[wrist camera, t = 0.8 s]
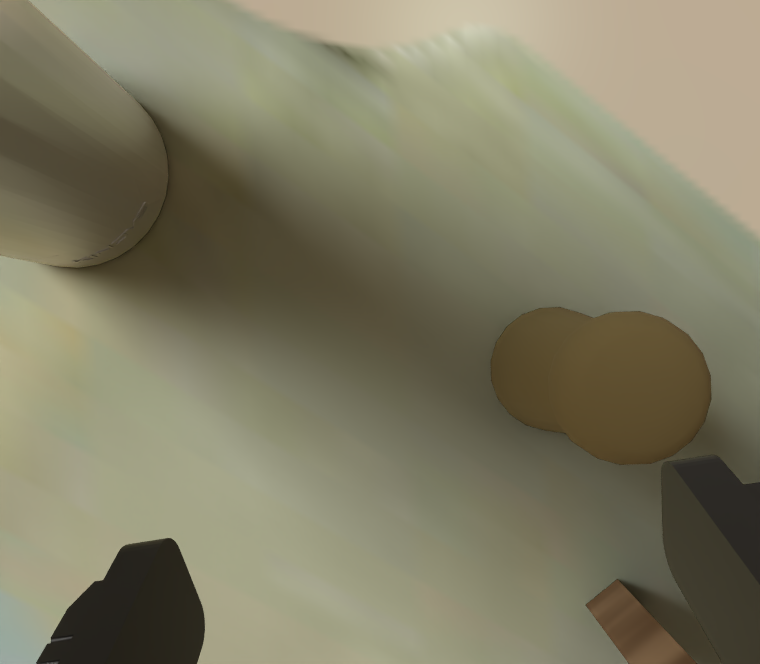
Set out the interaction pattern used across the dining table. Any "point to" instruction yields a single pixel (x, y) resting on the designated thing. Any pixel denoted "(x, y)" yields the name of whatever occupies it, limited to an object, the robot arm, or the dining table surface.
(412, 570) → the dining table surface
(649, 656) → the walnut shelf
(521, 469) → the dining table surface
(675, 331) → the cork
